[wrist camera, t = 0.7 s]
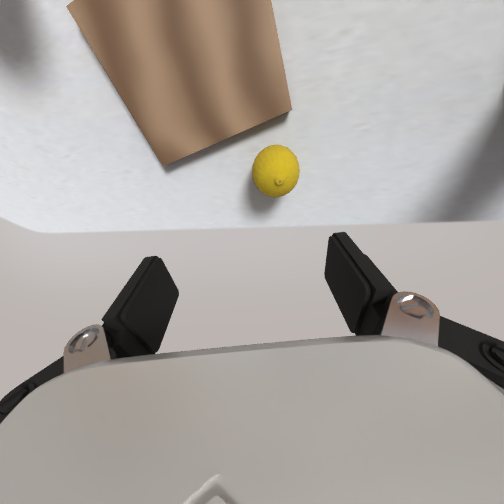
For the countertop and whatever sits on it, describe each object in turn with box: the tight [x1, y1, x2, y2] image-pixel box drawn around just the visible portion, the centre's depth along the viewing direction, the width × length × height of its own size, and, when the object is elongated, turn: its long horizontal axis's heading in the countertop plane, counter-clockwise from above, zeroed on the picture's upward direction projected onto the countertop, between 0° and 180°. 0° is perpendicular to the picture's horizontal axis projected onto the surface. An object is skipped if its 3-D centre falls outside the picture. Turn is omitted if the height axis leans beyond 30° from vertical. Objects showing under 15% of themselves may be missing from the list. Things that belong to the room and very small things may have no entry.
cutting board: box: [66, 0, 292, 166], centre depth 20 cm, size 17×14×2 cm
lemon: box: [252, 145, 300, 197], centre depth 23 cm, size 6×6×8 cm
